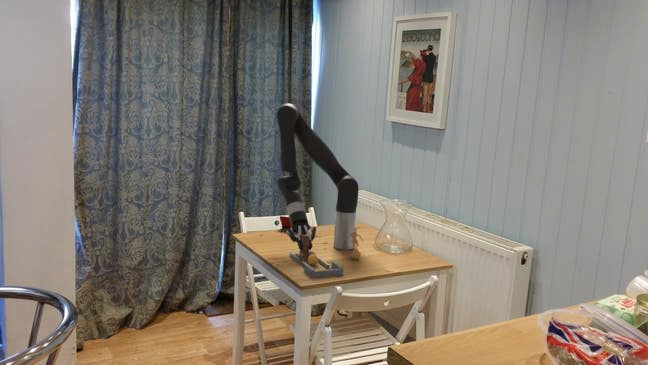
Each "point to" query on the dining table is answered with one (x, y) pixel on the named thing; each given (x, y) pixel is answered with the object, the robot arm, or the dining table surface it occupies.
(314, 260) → the ball
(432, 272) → the dining table surface
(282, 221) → the red slanted panel
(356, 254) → the figurine
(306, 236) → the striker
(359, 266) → the dining table surface
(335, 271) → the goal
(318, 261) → the rails
